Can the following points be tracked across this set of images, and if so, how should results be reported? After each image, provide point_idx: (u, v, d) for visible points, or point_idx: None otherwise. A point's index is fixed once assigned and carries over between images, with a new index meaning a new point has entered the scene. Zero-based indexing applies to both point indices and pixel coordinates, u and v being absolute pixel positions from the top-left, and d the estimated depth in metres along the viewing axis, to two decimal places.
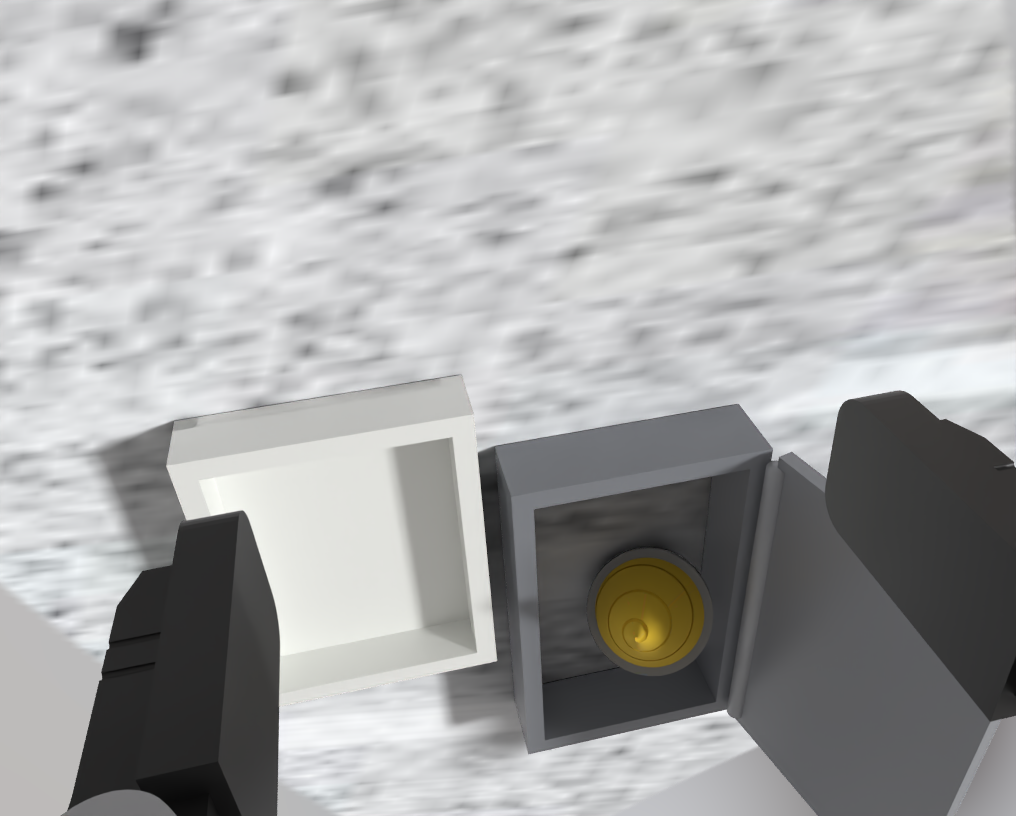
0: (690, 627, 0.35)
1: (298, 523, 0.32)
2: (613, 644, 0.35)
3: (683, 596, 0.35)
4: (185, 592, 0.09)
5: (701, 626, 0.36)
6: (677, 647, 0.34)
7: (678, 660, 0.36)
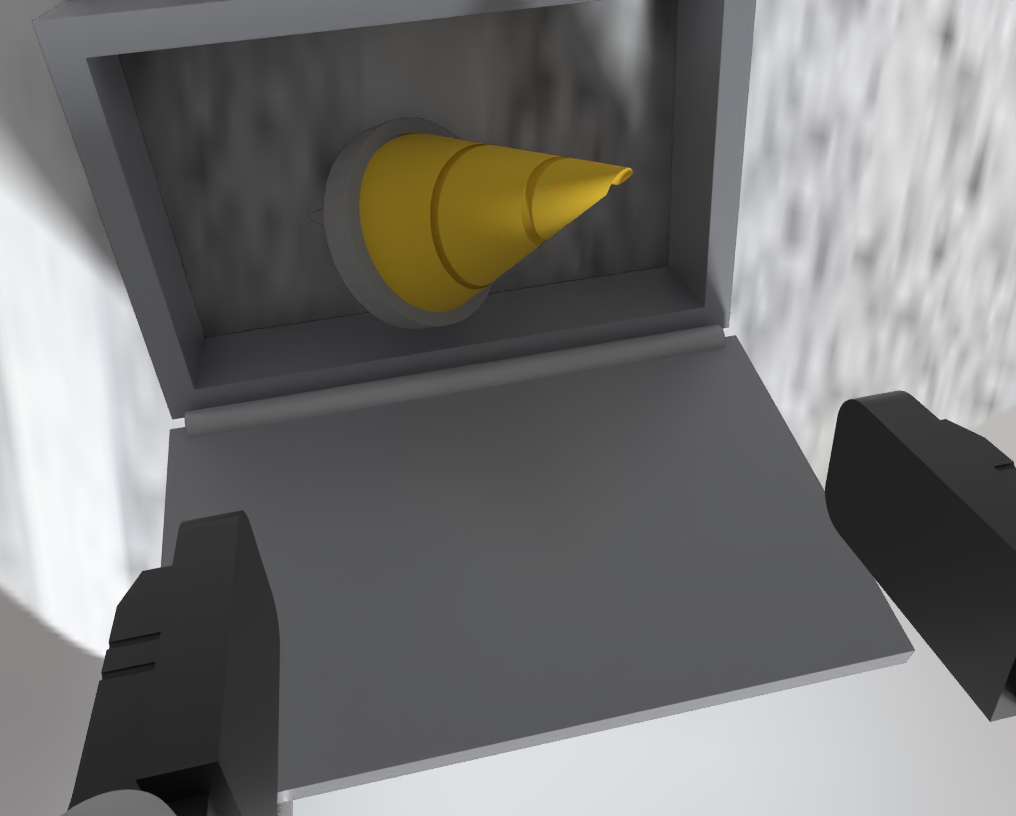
0: (476, 285, 0.21)
1: None
2: (424, 162, 0.20)
3: None
4: (185, 592, 0.09)
5: (443, 309, 0.22)
6: (465, 268, 0.20)
7: (389, 284, 0.21)
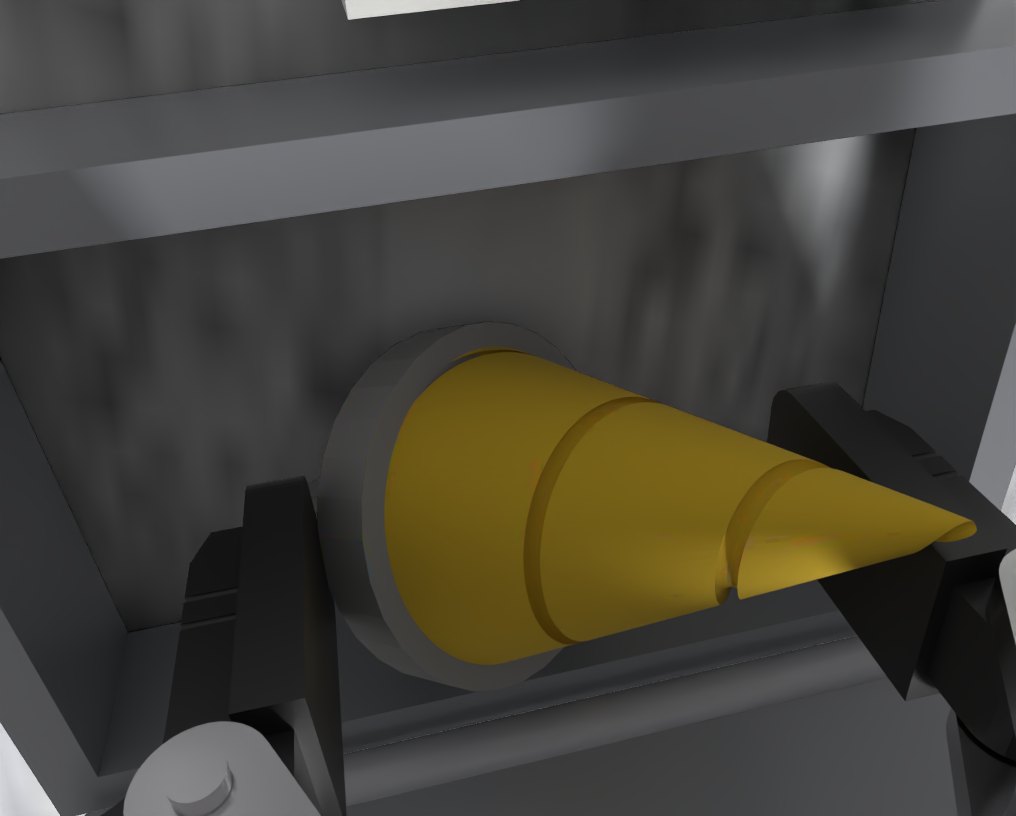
0: None
1: None
2: (510, 441, 0.10)
3: None
4: (258, 549, 0.09)
5: None
6: (584, 633, 0.11)
7: (438, 644, 0.11)
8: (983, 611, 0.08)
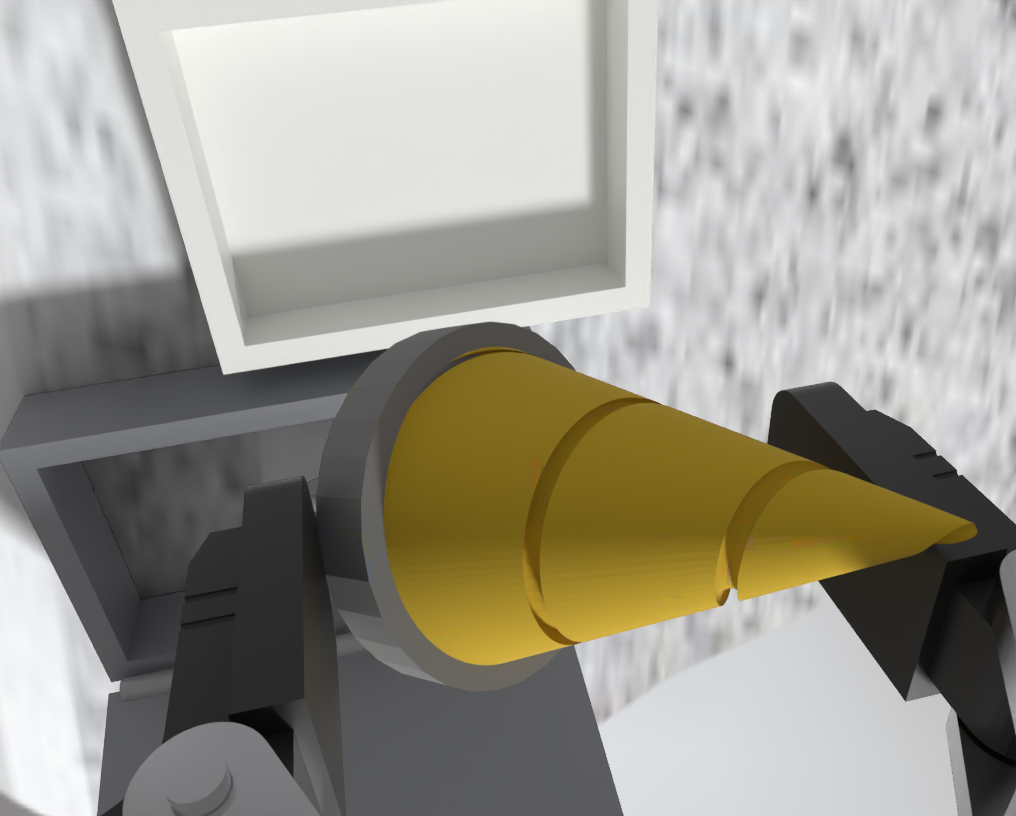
0: None
1: (458, 85, 0.24)
2: (510, 441, 0.10)
3: None
4: (257, 549, 0.09)
5: None
6: (584, 633, 0.11)
7: (436, 644, 0.11)
8: (984, 611, 0.08)
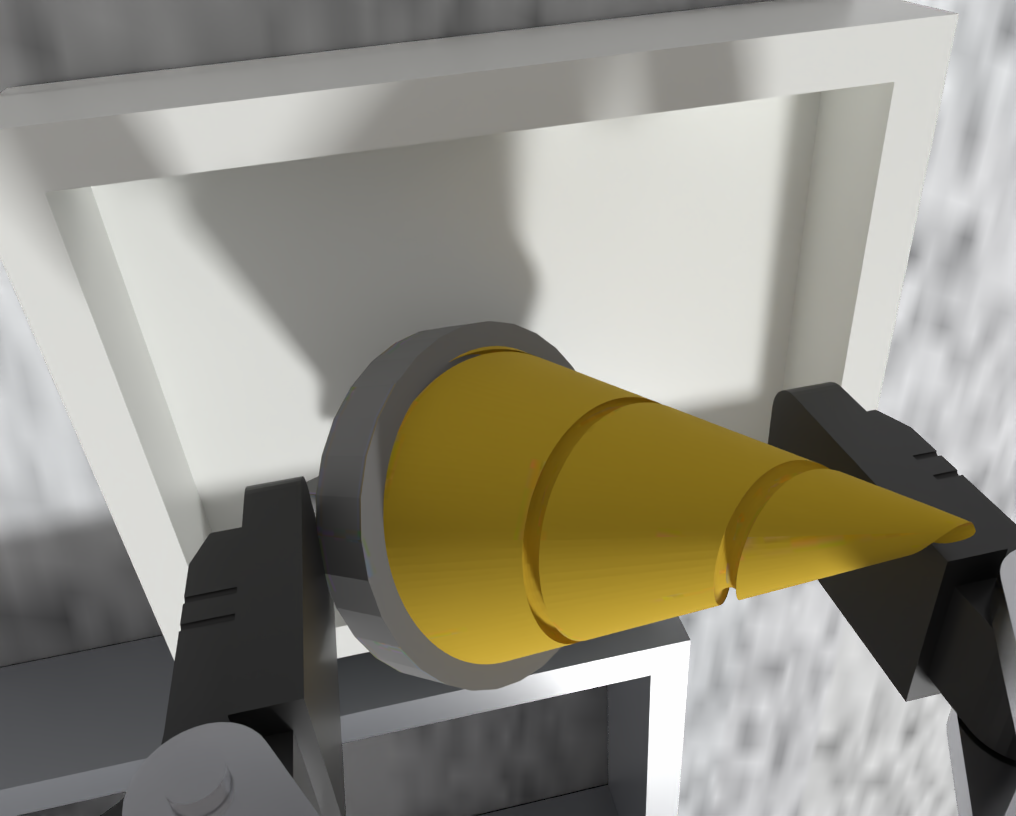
0: None
1: (571, 237, 0.14)
2: (509, 441, 0.10)
3: None
4: (257, 549, 0.09)
5: None
6: (583, 632, 0.11)
7: (436, 644, 0.11)
8: (984, 611, 0.08)
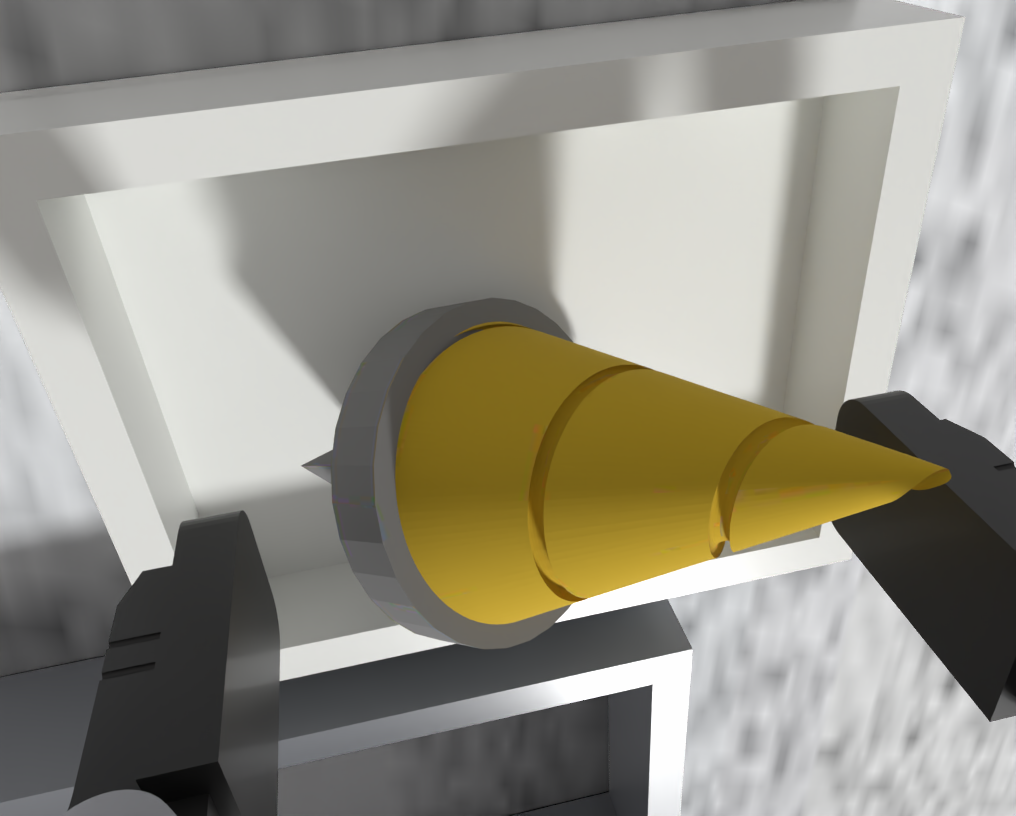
0: None
1: (571, 243, 0.14)
2: (513, 408, 0.11)
3: None
4: (185, 592, 0.09)
5: (534, 615, 0.13)
6: (587, 588, 0.11)
7: (448, 604, 0.12)
8: None
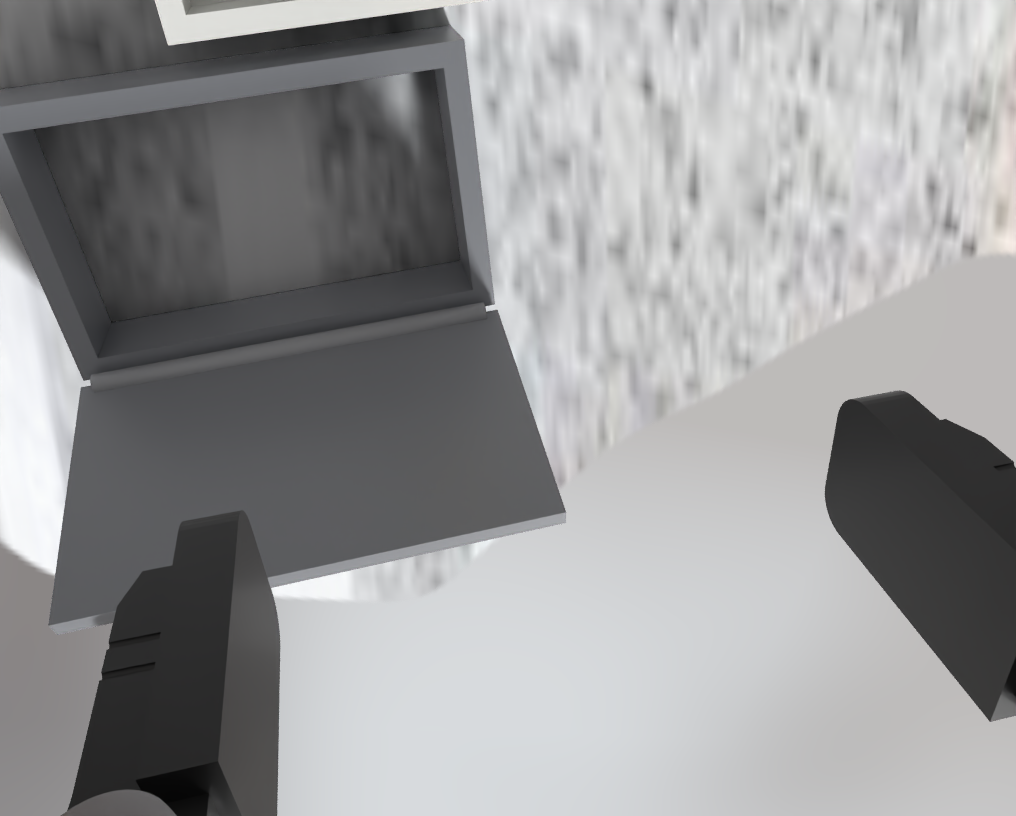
0: None
1: None
2: None
3: None
4: (185, 592, 0.09)
5: None
6: None
7: None
8: None
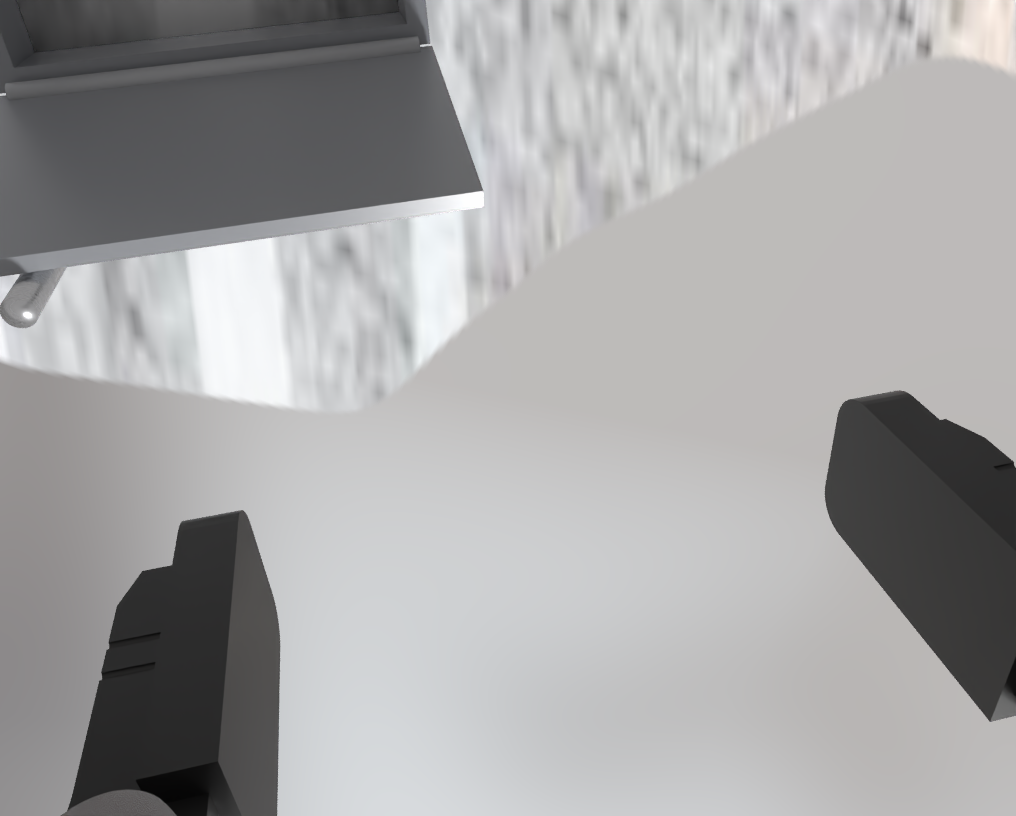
0: None
1: None
2: None
3: None
4: (185, 592, 0.09)
5: None
6: None
7: None
8: None
